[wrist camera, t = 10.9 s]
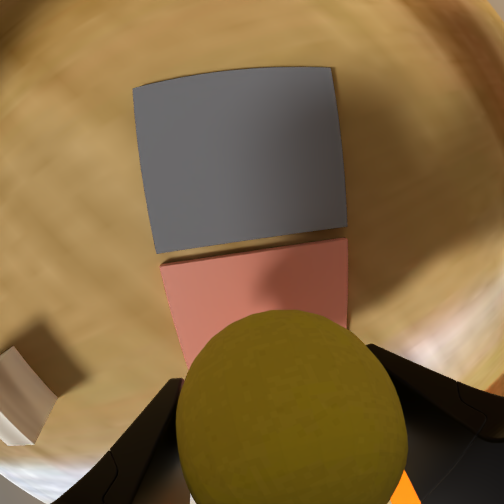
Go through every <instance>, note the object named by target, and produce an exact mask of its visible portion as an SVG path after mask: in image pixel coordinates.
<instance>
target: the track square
mask: <svg viewBox="0 0 504 504" xmlns="http://www.w3.org/2000/svg"><path fill="white" fill-rule="evenodd" d="M133 101H134V113H135V123H136V133H137V142H138V150H139V157H140V165H141V172H142V178H143V185H144V191H145V197H146V203H147V208H148V214H149V219H150V224H151V230H152V234H153V239H154V244H155V249H156V253H157V254H158V253H165V252H171V251H178V250H185V249H191V248H198V247H205V246H211V245H218V244H225V243H232V242H239V241H246V240H253V239H260V238H267V237H274V236H281V235H288V234H295V233H303V232H310V231H317V230H325V229H332V228H340V227H347V206H346V189H345V175H344V163H343V153H342V143H341V134H340V126H339V118H338V111H337V104H336V97H335V91H334V85H333V79H332V73H331V68H323V67H272V68H253V69H241V70H230V71H221V72H213V73H206V74H199V75H193V76H187V77H182V78H176V79H171V80H166V81H162V82H157V83H153V84H148V85H144V86H140V87H136V88H133Z"/></svg>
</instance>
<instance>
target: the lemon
mask: <svg viewBox="0 0 504 504" xmlns="http://www.w3.org/2000/svg"><path fill="white" fill-rule="evenodd" d="M176 434H177V445H178V453H179V459H180V464H181V468H182V472H183V476H184V479H185V481H186V484H187V487H188V489H189V491H190V493H191V495H192V497H193V499H194V501H195V502H196V504H387V503H388V502H389V500H390V499H391V497H392V495H393V493H394V492H395V490H396V488H397V486H398V484H399V482H400V480H401V477H402V474H403V472H404V469H405V466H406V461H407V454H408V436H407V430H406V425H405V420H404V415H403V411H402V407H401V404H400V401H399V397H398V395H397V392H396V390H395V387H394V385H393V383H392V381H391V379H390V377H389V375H388V373H387V371H386V370H385V368H384V367H383V365H382V364H381V363H380V361H379V360H378V359H377V358H376V356H375V355H374V354H373V353H372V352H371V351H370V350H369V349H368V348H367V346H366V345H365V344H364V343H363V342H362V341H361V340H360V339H359V338H358V337H357V336H356V335H354V334H353V333H352V332H351V331H349V330H348V329H346V328H344V327H343V326H341V325H339V324H337V323H335V322H333V321H331V320H330V319H328V318H326V317H324V316H321V315H318V314H314V313H309V312H305V311H301V310H269V311H265V312H260V313H255V314H251V315H249V316H247V317H244V318H242V319H240V320H238V321H235V322H233V323H231V324H229V325H228V326H227V327H225V328H224V329H223V330H221V331H220V332H219V333H217V334H216V335H215V336H213V337H212V338H211V339H210V340H209V341H208V343H207V344H206V345H205V346H204V348H203V349H202V350H201V351H200V353H199V354H198V355H197V356H196V358H195V359H194V361H193V362H192V364H191V366H190V369H189V371H188V373H187V376H186V379H185V381H184V384H183V387H182V389H181V392H180V396H179V399H178V405H177V411H176Z"/></svg>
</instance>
